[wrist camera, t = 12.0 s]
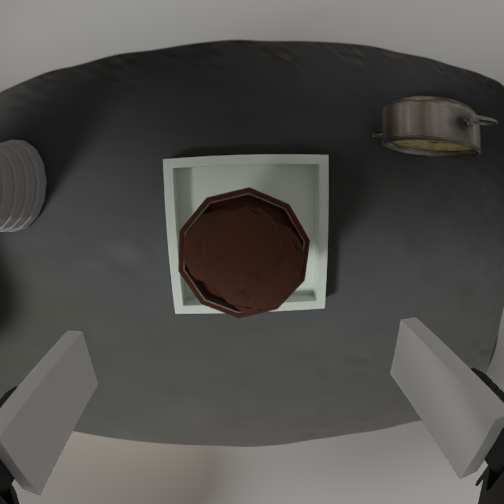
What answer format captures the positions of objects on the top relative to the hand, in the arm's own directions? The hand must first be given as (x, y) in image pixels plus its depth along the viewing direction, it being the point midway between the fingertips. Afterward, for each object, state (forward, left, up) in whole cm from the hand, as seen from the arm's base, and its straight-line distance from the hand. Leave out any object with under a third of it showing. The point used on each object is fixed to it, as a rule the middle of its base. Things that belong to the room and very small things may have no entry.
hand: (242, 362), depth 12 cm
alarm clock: (+20, +12, -25) cm, 34 cm away
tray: (+1, 0, -25) cm, 25 cm away
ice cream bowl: (0, 0, -24) cm, 24 cm away
